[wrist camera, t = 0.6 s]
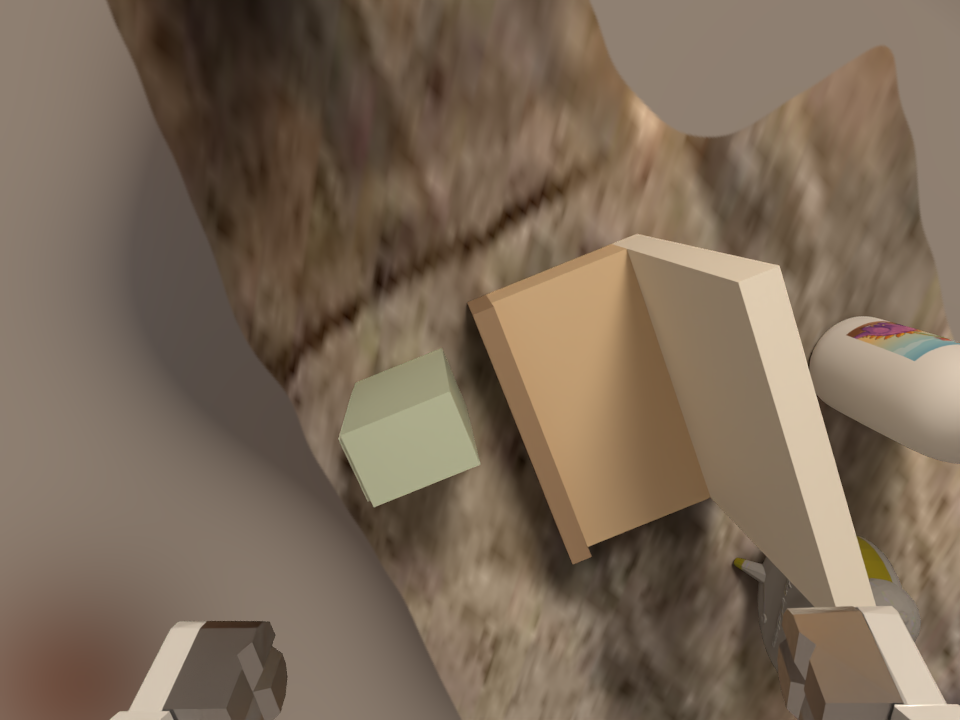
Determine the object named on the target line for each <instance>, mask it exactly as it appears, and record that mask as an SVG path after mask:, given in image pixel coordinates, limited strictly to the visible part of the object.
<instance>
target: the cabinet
mask: <svg viewBox="0 0 960 720" xmlns="http://www.w3.org/2000/svg"><path fill="white" fill-rule="evenodd" d="M338 440H339V442H340V444H341V446H342V448H343V450H344V452H345V454H346V457H347V459H348V461H349V463H350V465H351V467H352V469H353V471H354V474H355V476H356V478H357V480H358V482H359V484H360V486H361V488H362V491H363V493H364V495H365V497H366V499H367V501H371V503H372V505H373V507H376V506H379V505H381V504H384V503H386V502H389V501H391V500H394V499H396V498H399V497H401V496H404V495H406V494H409V493H411V492H413V491H416V490H418V489H421V488H423V487H426V486H428V485H431V484H433V483H436V482H438V481H441V480H443V479H446V478H448V477H451V476H453V475H456V474H458V473H461V472H463V471H466V470H468V469H471V468H473V467H476V466H478V465H481V464H480V460H479V456H478V452H477V448H476V444H475V439H474V435H473V431H472V427H471V423H470V419H469V415H468V410H467V407H466V404H465V402H464V399H463V397H462V395H461V392H460V390H459V387H458V385H457V383H456V380H455V378H454V375H453V373H452V371H451V368H450V366H449V363H448V361H447V359H446V356H445V354H444V351H443V349H442V348H441V349H438V350H436V351H433V352H431V353H428V354H426V355H423V356H421V357H418V358H416V359H413V360H411V361H409V362H406V363H404V364H401V365H399V366H396V367H394V368H391V369H389V370H386V371H384V372H381V373H379V374H376V375H374V376H371V377H369V378H366V379H364V380H361V381H359V382H356V383H355V386H354V389H353V390H352V394H351V397H350V401H349V404H348V407H347V411H346V414H345V418H344V421H343V425H342V428H341V432H340V435H339V438H338Z"/></svg>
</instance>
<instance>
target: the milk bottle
mask: <svg viewBox="0 0 960 720" xmlns="http://www.w3.org/2000/svg"><path fill="white" fill-rule="evenodd" d="M809 371H810V375H811V379H812V382H813V386H814V389H815V392H816V394H817V395H818V396H819V398H820V399H821V400H822V401H823V402H824V403H826V404H827V405H829V406H830V407H832V408H834V409H835V410H837V411H839V412H841V413H843V414H844V415H846V416H848V417H850V418H852V419H854V420H856V421H858V422H859V423H861V424H863V425H865V426H867V427H869V428H871V429H873V430H875V431H876V432H878V433H880V434H882V435H884V436H886V437H888V438H890V439H892V440H894V441H896V442H898V443H900V444H902V445H904V446H906V447H908V448H910V449H912V450H914V451H916V452H919V453H921V454H923V455H925V456H928V457H931V458H934V459H937V460H940V461H945V462H949V463H956V464H960V342H957V341H954V340H950V339H947V338H944V337H940V336H937V335H934V334H931V333H927V332H924V331H920V330H917V329H913V328H910V327H906V326H903V325H900V324H896V323H893V322H889V321H886V320H882V319H878V318H874V317H867V316H859V317H853V318H849V319H846V320H844V321H842V322H839V323H838V324H836V325H834V326H833V327H831V328H830V329H829V330H828V331H827V332H825V333H824V334H823V335H822V337H821V338H820V339H819V340H818V342H817V344H816V346H815V348H814V349H813V352H812V355H811V358H810V365H809Z"/></svg>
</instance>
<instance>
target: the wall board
mask: <svg viewBox="0 0 960 720" xmlns="http://www.w3.org/2000/svg"><path fill="white" fill-rule="evenodd" d="M467 303H468V306H469V308H470V311H471V313H472V316H473V318H474V321H475V323H476V326H477V328H478V331H479V333H480V336H481V338H482V341H483V343H484V346H485V348H486V351H487V353H488V356H489V358H490V361H491V363H492V366H493V368H494V371H495V373H496V376H497V378H498V381H499V383H500V386H501V388H502V391H503V393H504V396H505V398H506V401H507V403H508V406H509V408H510V411H511V413H512V416H513V418H514V421H515V423H516V426H517V428H518V431H519V433H520V436H521V438H522V441H523V443H524V446H525V448H526V451H527V453H528V456H529V458H530V461H531V463H532V466H533V468H534V471H535V473H536V476H537V478H538V481H539V483H540V486H541V488H542V491H543V493H544V496H545V498H546V501H547V503H548V506H549V508H550V511H551V513H552V516H553V518H554V521H555V523H556V526H557V528H558V531H559V533H560V536H561V538H562V540H563V543H564V545H565V547H566V550H567V552H568V554H569V557H570V559H571V562H572V564H575V563H578V562H580V561H583V560H585V559H588V558H590V557H592V556H591V554H590V551H589V549H588V547H589V546H591V545H594V544H596V543H599V542H601V541H604V540H606V539H609V538H611V537H614V536H616V535H619V534H621V533H624V532H626V531H629V530H631V529H634V528H636V527H639V526H641V525H644V524H646V523H648V522H651V521H653V520H656V519H658V518H661V517H663V516H666V515H668V514H671V513H673V512H676V511H678V510H681V509H683V508H686V507H688V506H691V505H693V504H696V503H698V502H701V501H703V500H706V499H708V498H711V499H712V500H713V501H714V502H715V503H716V504H717V505H718V506H719V507H720V508H721V509H722V510H723V511H724V512H725V513H726V514H727V515H728V516H729V518H730V519H731V520H732V521H733V522H734V523H735V524H736V525H737V526H738V527H739V528H740V529H741V530H742V531H743V532H744V533H745V534H746V535H747V536H748V538H749V539H750V540H751V541H752V542H753V543H754V544H755V545H756V546H757V547H758V548H759V549H760V550H761V551H762V552H763V553H764V554H765V555H766V556H767V557H768V559H769V560H770V561H771V562H772V563H773V564H774V565H775V566H776V567H777V568H778V569H779V570H780V571H781V572H782V573H783V574H784V575H785V576H786V577H787V579H788V580H789V581H790V582H791V583H792V584H793V585H794V586H795V587H796V588H797V589H798V590H799V591H800V592H801V593H802V594H803V595H804V596H805V597H806V599H807V600H808V601H809V602H810V603H811V604H812V605H813V606H814V607H841V606H853V607H865V606H876V604H875V600H874V597H873V593H872V590H871V586H870V583H869V579H868V576H867V572H866V569H865V565H864V562H863V558H862V555H861V551H860V547H859V544H858V540H857V537H856V533H855V530H854V526H853V523H852V519H851V516H850V512H849V509H848V505H847V502H846V498H845V495H844V491H843V488H842V484H841V481H840V477H839V474H838V470H837V467H836V463H835V459H834V456H833V452H832V449H831V445H830V442H829V438H828V435H827V431H826V428H825V424H824V421H823V417H822V414H821V410H820V407H819V403H818V400H817V396H816V393H815V389H814V386H813V382H812V379H811V375H810V371H809V368H808V364H807V361H806V357H805V354H804V350H803V347H802V343H801V340H800V336H799V333H798V329H797V326H796V322H795V319H794V315H793V312H792V308H791V305H790V301H789V298H788V294H787V291H786V287H785V284H784V280H783V276H782V273H781V269H780V266H778V265H774V264H769V263H765V262H760V261H756V260H752V259H747V258H743V257H738V256H734V255H729V254H725V253H720V252H716V251H711V250H707V249H702V248H698V247H693V246H689V245H684V244H680V243H675V242H671V241H666V240H662V239H657V238H653V237H648V236H644V235H640V234H635V235H633V236H630V237H628V238H625V239H623V240H621V241H618V242H616V243H613V244H611V245H608V246H606V247H603V248H601V249H598V250H596V251H593V252H591V253H588V254H586V255H583V256H581V257H578V258H576V259H573V260H571V261H568V262H566V263H563V264H561V265H558V266H556V267H554V268H551V269H549V270H546V271H544V272H541V273H539V274H536V275H534V276H531V277H529V278H526V279H524V280H521V281H519V282H516V283H514V284H511V285H509V286H506V287H504V288H501V289H499V290H496V291H494V292H492V293H489V294H487V295H484V296H482V297H479V298H477V299H474V300H472V301H469V302H467Z"/></svg>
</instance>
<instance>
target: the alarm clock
mask: <svg viewBox="0 0 960 720" xmlns="http://www.w3.org/2000/svg"><path fill="white" fill-rule="evenodd" d="M856 537H857V540H858V544H859V547H860V551H861V555H862V558H863V562H864V565H865V569H866V572H867V576H868V579H869V583H870V586H871V590H872V593H873V597H874V600H875V604H876V606H892V607H893V608H895V609H896V610H897V611H898V612H899V614H900V616H901V618H902V620H903V622H904V624H905V626H906V628H907V629H908V631H909V633H910V635H911V637H912V639H913V641H914V642H915V641H916V639H917V637H918V635H919V631H920V625H921V620H920V614H919V610H918V608H917V606H916V604H915V602H914V600H913V599H912V598H911V597H910V595H909V594H908V593H907V592H906V591H905V590H903V589H902V586H901V584H900V581H899V579H898V577H897V575H896V573H895V571H894V569H893V567H892V565H891V563H890V561H889V560H888V559H887V557H886V556H885V555H884V553H883V552H881V551H880V550H879V549H878V548H877V547H876V546H875V545H874V544H873V543H872V542H870V541H868V540H867V539H865V538H863V537H861V536H857V535H856ZM734 565H735V566H736V567H738V568H739V569H740V570H743V571H744V572H745V573H747V574H748V575H750V576H751V577H753V578H754V579H756V580H757V581H758V582H759V586H758V615H759V625H760V629H761V633H762V637H763V641H764V644H765V648H766V651H767V653H768V655H769V658H770V660H771V662H772V664H773V666H774V667H775V669H776V671H777V672H778V662H777V658H778V648H779V644H780V643H781V642H783V641H784V640H785V639H786V636H785V633H784V630H783V627H782V620H783V614H784V612H785V611H786V609H787V608H813V607H814V606H813V605H812V604H811V603H810V602H809V601H808V600H807V599H806V597H805V596H804V595H803V594H802V593H801V592H800V591H799V590H798V589H797V588H796V587H795V586H794V585H793V584H792V583H791V582H790V581H789V580H788V579H787V577H786V576H785V575H784V574H783V573H782V572H781V571H780V570H779V569H778V568H777V567H776V566H775V565H774V564H773V563H772V562H771V561H770V560H769V559H768V557H767V556H766V558H765V560H764V562H763V564H760V563H756V562H752V561H748V560H746V559H742V558H736V559H735V560H734Z"/></svg>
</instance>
